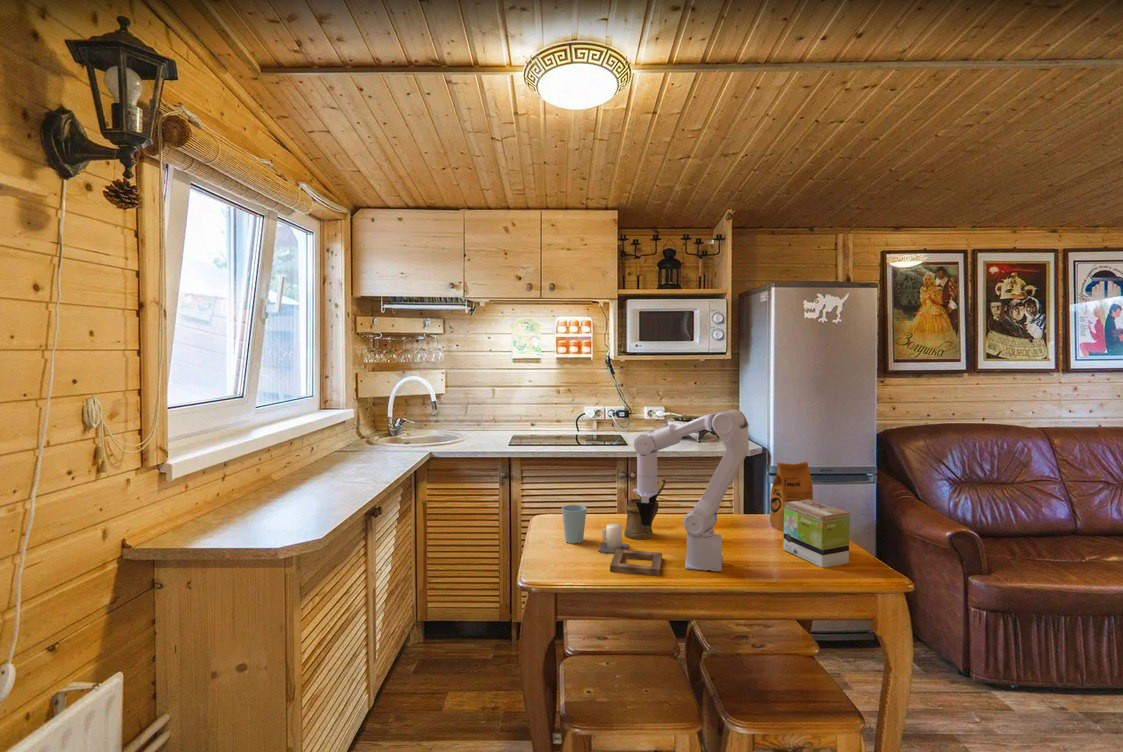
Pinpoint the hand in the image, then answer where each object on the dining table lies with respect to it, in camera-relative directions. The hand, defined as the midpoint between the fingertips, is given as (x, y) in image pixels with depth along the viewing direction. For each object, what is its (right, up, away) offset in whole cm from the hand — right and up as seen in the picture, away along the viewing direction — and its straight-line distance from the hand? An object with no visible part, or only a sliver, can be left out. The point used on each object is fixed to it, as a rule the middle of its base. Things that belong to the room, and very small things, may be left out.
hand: (647, 521), depth 160 cm
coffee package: (+52, -9, +25) cm, 58 cm away
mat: (-9, -9, +4) cm, 14 cm away
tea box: (+48, -10, -3) cm, 49 cm away
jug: (-9, -9, +4) cm, 13 cm away
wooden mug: (+2, -9, +17) cm, 20 cm away
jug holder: (-4, -10, -8) cm, 14 cm away
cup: (-21, -9, +11) cm, 26 cm away
